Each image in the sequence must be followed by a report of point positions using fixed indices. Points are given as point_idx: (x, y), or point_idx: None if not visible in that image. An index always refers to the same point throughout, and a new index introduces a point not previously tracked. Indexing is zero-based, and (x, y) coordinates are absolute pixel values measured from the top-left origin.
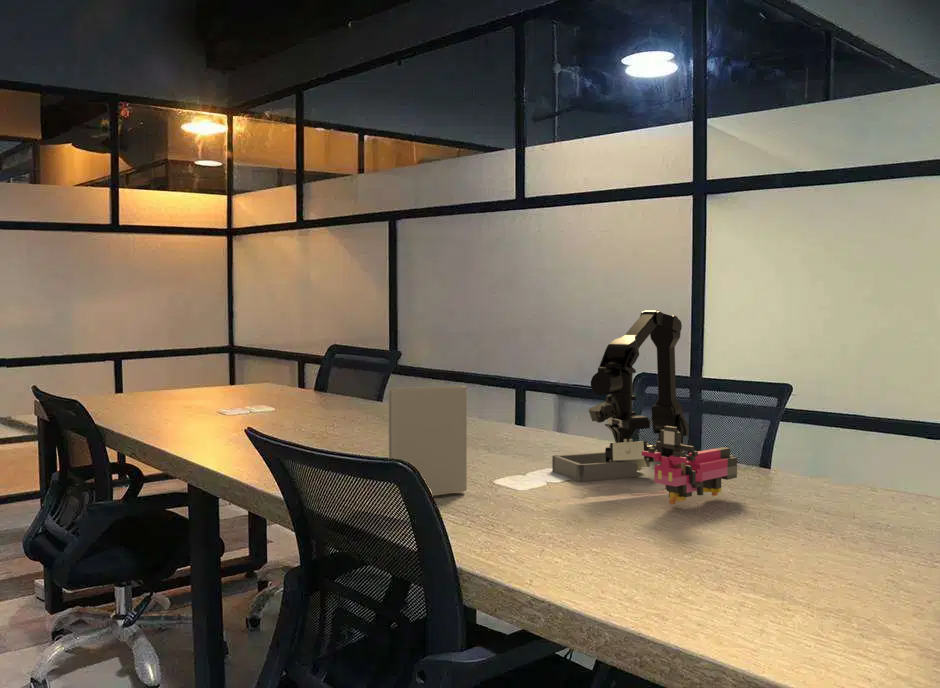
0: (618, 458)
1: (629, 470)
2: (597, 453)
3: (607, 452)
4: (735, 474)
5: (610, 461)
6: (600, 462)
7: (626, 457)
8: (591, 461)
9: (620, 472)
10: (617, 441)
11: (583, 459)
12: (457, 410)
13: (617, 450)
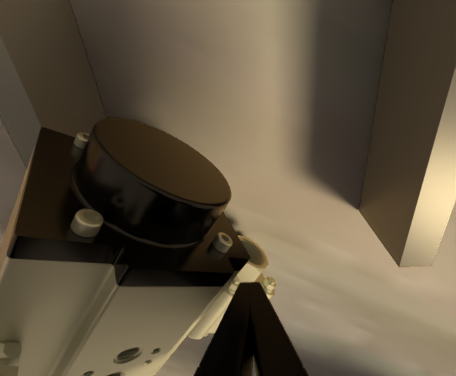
0: (21, 185)
1: None
2: (422, 184)
3: (83, 152)
4: None
5: (81, 136)
6: (381, 176)
7: (5, 233)
8: (400, 115)
9: None
10: (255, 352)
11: (428, 39)
12: None
13: (10, 226)
